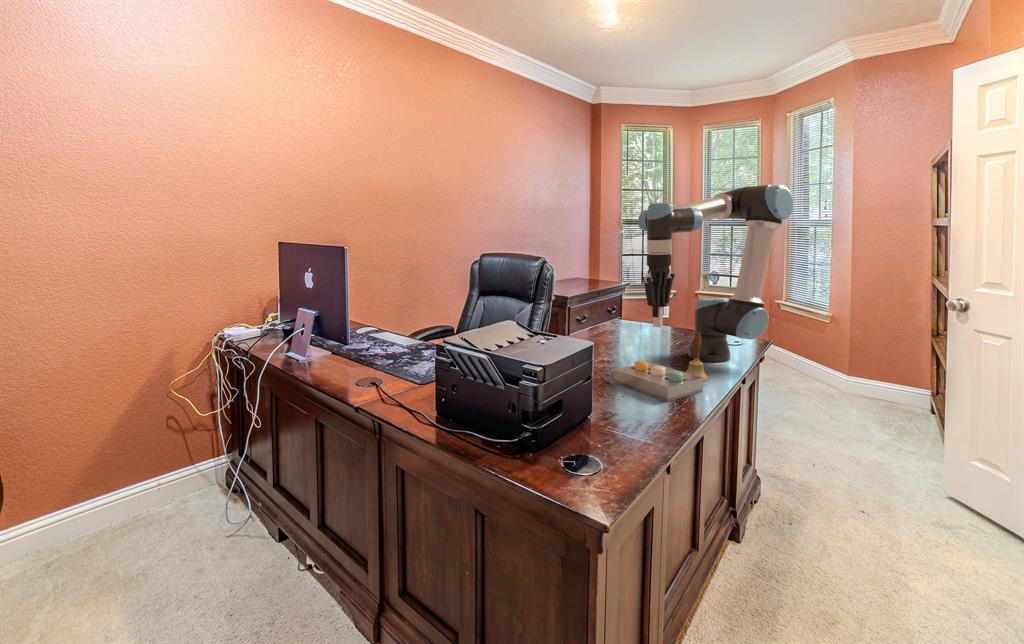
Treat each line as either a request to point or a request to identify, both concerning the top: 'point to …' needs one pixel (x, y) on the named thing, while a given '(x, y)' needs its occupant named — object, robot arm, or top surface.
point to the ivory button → (658, 371)
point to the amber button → (641, 366)
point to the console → (658, 383)
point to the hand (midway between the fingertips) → (657, 326)
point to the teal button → (675, 376)
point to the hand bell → (697, 359)
